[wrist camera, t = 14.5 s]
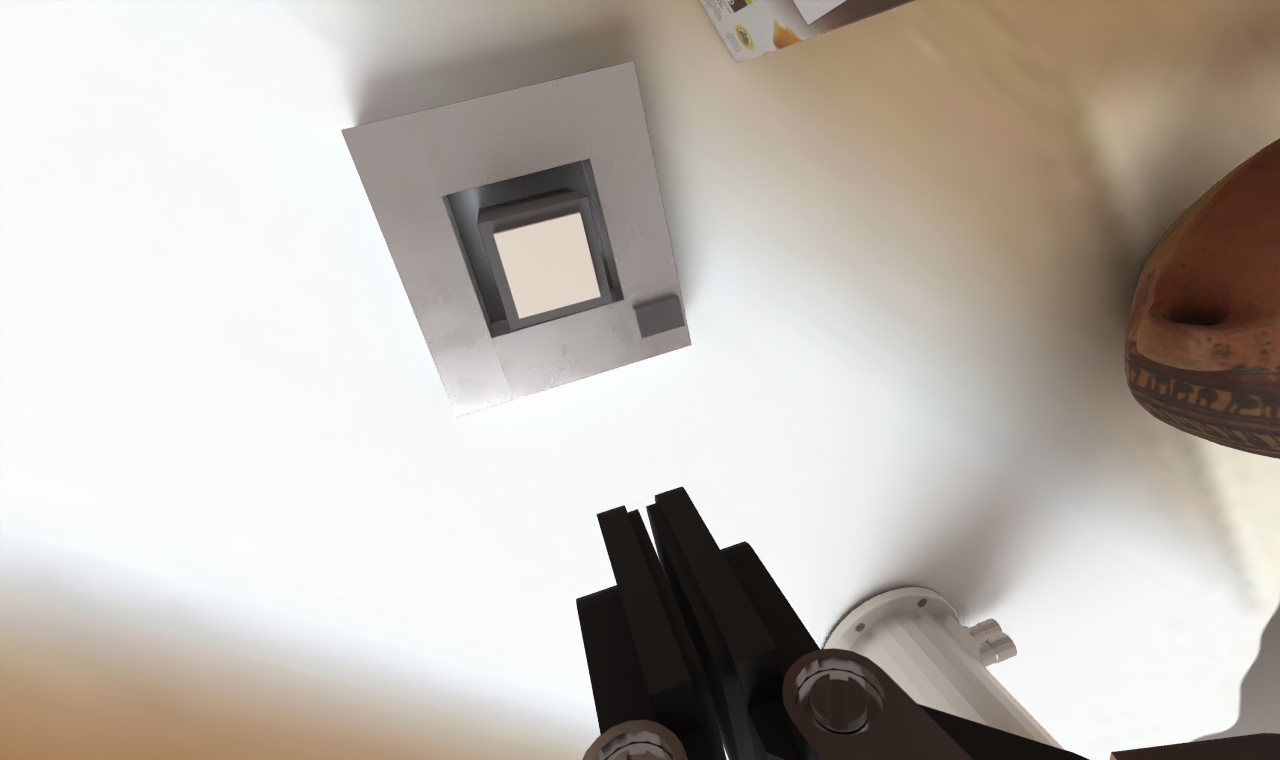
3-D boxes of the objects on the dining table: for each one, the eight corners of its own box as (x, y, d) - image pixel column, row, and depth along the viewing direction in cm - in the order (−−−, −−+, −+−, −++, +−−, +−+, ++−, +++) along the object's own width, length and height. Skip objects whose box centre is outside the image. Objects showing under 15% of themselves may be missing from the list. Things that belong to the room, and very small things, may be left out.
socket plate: (620, 69, 29) (636, 59, 26) (675, 330, 35) (694, 348, 32) (355, 132, 27) (337, 129, 24) (458, 395, 33) (455, 422, 30)
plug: (566, 187, 31) (588, 197, 24) (587, 273, 32) (614, 304, 26) (479, 209, 30) (477, 225, 23) (505, 294, 32) (511, 332, 25)
